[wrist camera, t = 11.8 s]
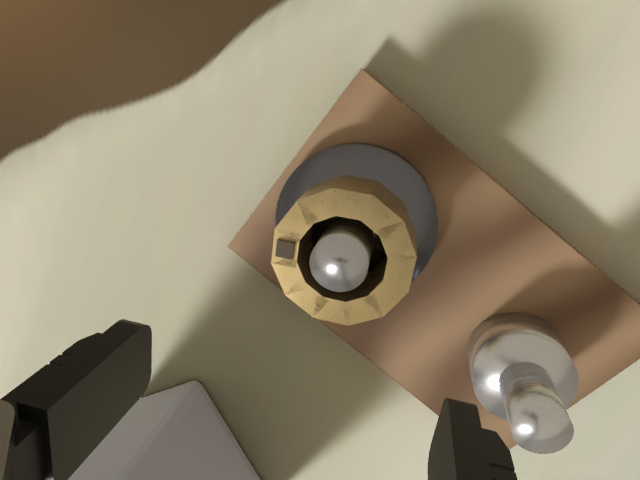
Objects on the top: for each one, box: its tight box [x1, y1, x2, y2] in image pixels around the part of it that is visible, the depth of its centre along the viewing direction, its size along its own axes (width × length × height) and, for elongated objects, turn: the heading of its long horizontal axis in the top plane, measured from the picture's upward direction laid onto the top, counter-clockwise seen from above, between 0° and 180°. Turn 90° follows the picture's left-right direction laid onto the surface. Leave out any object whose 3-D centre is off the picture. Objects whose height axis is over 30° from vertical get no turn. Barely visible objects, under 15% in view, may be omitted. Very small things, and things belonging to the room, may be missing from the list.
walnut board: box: [228, 69, 640, 449], centre depth 27 cm, size 22×13×2 cm, turn 52°
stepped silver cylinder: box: [467, 312, 579, 454], centre depth 23 cm, size 5×5×6 cm
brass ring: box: [271, 174, 417, 326], centre depth 21 cm, size 6×6×3 cm
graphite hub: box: [275, 142, 438, 292], centre depth 23 cm, size 9×9×6 cm
